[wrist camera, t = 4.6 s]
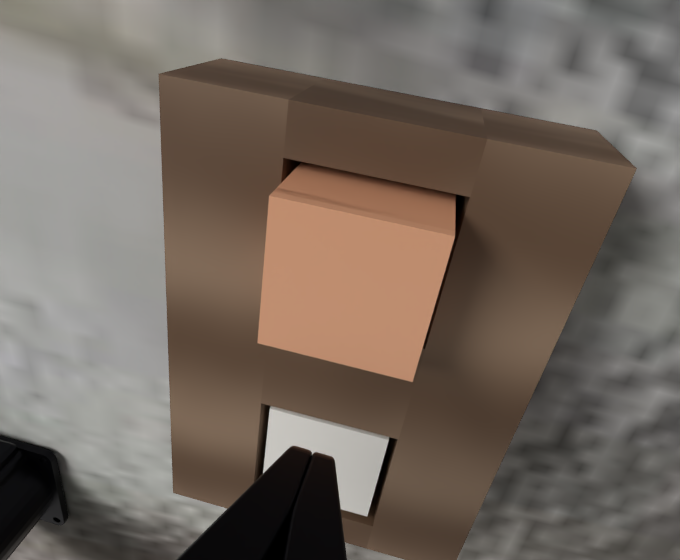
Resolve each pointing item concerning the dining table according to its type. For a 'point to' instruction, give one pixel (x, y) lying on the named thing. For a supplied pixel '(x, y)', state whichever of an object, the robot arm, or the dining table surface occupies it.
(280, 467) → the robot arm
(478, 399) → the panel
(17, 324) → the dining table surface
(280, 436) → the button
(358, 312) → the button
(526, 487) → the dining table surface
